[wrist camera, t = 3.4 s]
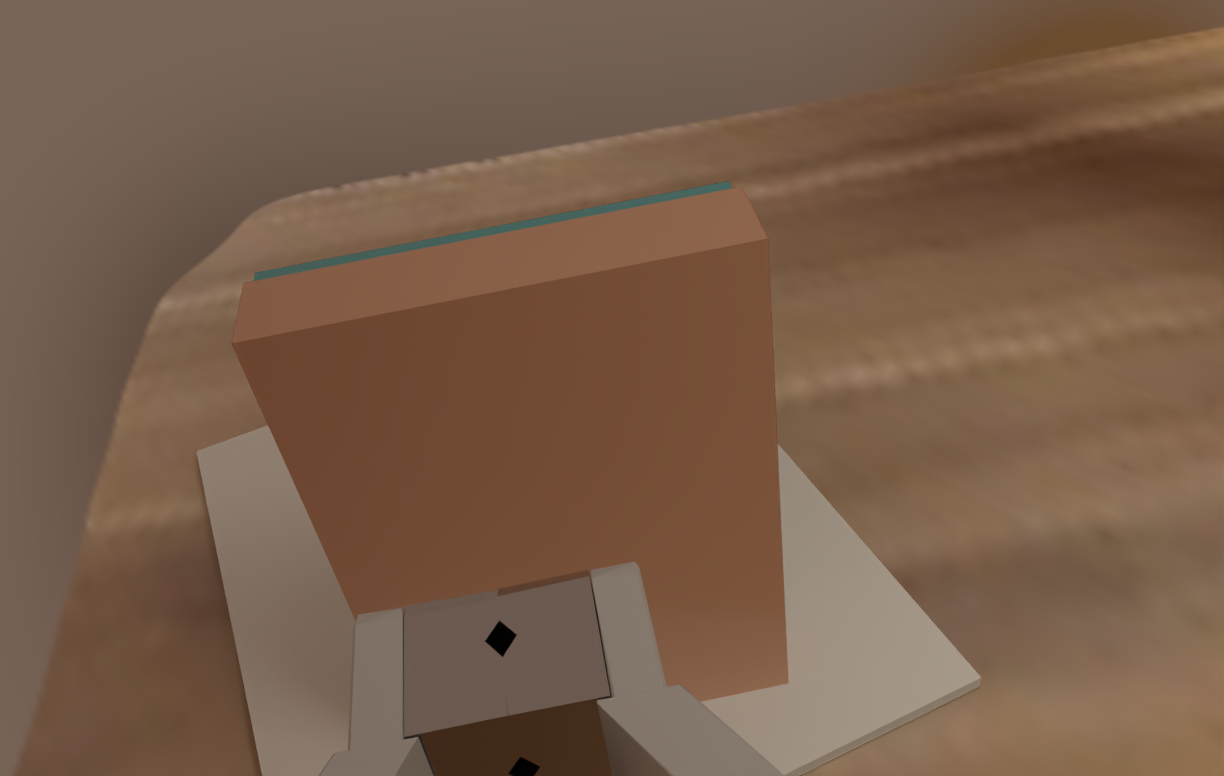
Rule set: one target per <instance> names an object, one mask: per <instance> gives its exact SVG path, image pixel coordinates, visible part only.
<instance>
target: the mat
mask: <svg viewBox="0 0 1224 776" xmlns="http://www.w3.org/2000/svg"><path fill="white" fill-rule="evenodd" d="M196 453H197V457H198V462H199V467H200V472H201V477H202V482H203V487H204V492H205V497H206V502H207V507H208V512H209V516H210V521H211V526H212V531H213V536H214V541H215V546H216V551H217V556H218V561H219V566H220V571H221V576H222V580H223V585H224V590H225V595H226V600H227V605H228V610H229V615H230V620H231V625H232V630H233V635H234V639H235V644H236V649H237V654H238V659H239V664H240V669H241V674H242V679H243V684H244V689H245V694H246V699H247V703H248V708H249V713H250V718H251V723H252V728H253V733H254V738H255V743H256V748H257V753H258V758H259V762H260V767H261V772H262V776H319V774H320V773H321V771H322V770H323V768H324V767H325V765H326V764H327V763H328V761H329V760H330V758H331V757H332V755H333V754H334V753H338V752H343V751H347V750H348V734H349V712H350V690H351V668H352V646H353V628H354V625H355V622H356V621H355V619H354V616H353V614H352V612H351V610H350V607H349V605H348V603H347V601H346V598H345V596H344V594H343V592H342V589H341V587H340V585H339V583H338V581H337V578H336V576H335V574H334V572H333V569H332V567H331V565H330V563H329V560H328V558H327V556H326V554H325V551H324V549H323V547H322V545H321V542H320V540H319V538H318V536H317V534H316V531H315V529H314V527H313V525H312V522H311V520H310V518H309V516H308V513H307V511H306V509H305V507H304V504H303V502H302V500H301V498H300V495H299V493H298V491H297V489H296V487H295V484H294V482H293V480H292V478H291V475H290V473H289V471H288V469H287V466H286V464H285V462H284V460H283V457H282V455H281V453H280V451H279V449H278V446H277V444H276V442H275V440H274V437H273V435H272V433H271V431H270V428H269V426H268V425H267V426H264V427H261V428H259V429H256V430H253V431H250V432H248V433H245V434H242V435H239V436H237V437H234V438H231V439H228V440H226V441H223V442H220V443H217V444H215V445H212V446H209V447H206V448H204V449H201V450H198V451H196ZM778 464H779V485H780V507H781V529H782V551H783V572H784V594H785V616H786V637H787V659H788V681H789V683H788V684H783V685H778V686H774V687H769V688H764V689H759V690H754V691H750V692H745V693H740V694H735V695H731V696H726V697H721V698H716V699H712V700H707V701H702V702H701V703H702V704H704V705H705V706H706V707H707V708H708V709H709V710H710V711H712V712H713V713H714V714H715V715H716V716H717V717H718V718H720V719H721V720H722V721H723V722H724V723H725V724H726V725H728V726H729V727H730V728H731V729H732V730H733V731H734V732H736V733H737V734H738V735H739V736H740V737H741V738H742V739H744V740H745V741H746V742H747V743H748V744H749V745H750V746H752V747H753V748H754V749H755V750H756V751H757V752H758V753H760V754H761V755H762V756H763V757H764V758H765V759H766V760H768V761H769V762H770V763H771V764H772V765H773V766H774V767H776V768H777V769H778V770H779V771H780V772H781V773H782V774H784V775H785V776H801V775H803V774H805V773H807V772H809V771H811V770H813V769H815V768H817V767H819V766H821V765H823V764H825V763H827V762H829V761H831V760H833V759H835V758H837V757H839V756H841V755H843V754H845V753H847V752H849V751H851V750H853V749H855V748H857V747H859V746H861V745H863V744H865V743H867V742H869V741H871V740H873V739H875V738H877V737H879V736H881V735H883V734H885V733H887V732H889V731H891V730H893V729H895V728H897V727H899V726H901V725H903V724H905V723H907V722H909V721H912V720H914V719H916V718H918V717H920V716H922V715H924V714H926V713H928V712H930V711H932V710H934V709H936V708H938V707H940V706H942V705H944V704H946V703H948V702H950V701H952V700H954V699H956V698H958V697H960V696H962V695H964V694H966V693H968V692H970V691H972V690H974V689H976V688H978V687H980V682H981V677H980V676H979V675H978V673H977V672H976V671H975V670H974V669H973V668H972V667H971V665H970V664H969V663H968V662H967V661H966V660H965V658H964V657H963V656H962V655H961V654H960V653H959V652H958V650H957V649H956V648H955V647H954V646H953V645H952V643H951V642H950V641H949V640H948V639H947V638H946V637H945V635H944V634H943V633H942V632H941V631H940V630H939V629H938V627H937V626H936V625H935V624H934V623H933V622H932V620H931V619H930V618H929V617H928V616H927V615H926V614H925V612H924V611H923V610H922V609H921V608H920V607H919V605H918V604H917V603H916V602H915V601H914V600H913V599H912V597H911V596H910V595H909V594H908V593H907V592H906V591H905V589H904V588H903V587H902V586H901V585H900V584H899V582H898V581H897V580H896V579H895V578H894V577H893V576H892V574H891V573H890V572H889V571H888V570H887V569H886V567H885V566H884V565H883V564H882V563H881V562H880V561H879V559H878V558H877V557H876V556H875V555H874V554H873V552H872V551H871V550H870V549H869V548H868V547H867V546H866V544H865V543H864V542H863V541H862V540H861V539H860V538H859V536H858V535H857V534H856V533H855V532H854V531H853V529H852V528H851V527H850V526H849V525H848V524H847V523H846V521H845V520H844V519H843V518H842V517H841V516H840V514H839V513H838V512H837V511H836V510H835V509H834V508H833V506H832V505H831V504H830V503H829V502H828V501H827V500H826V498H825V497H824V496H823V495H822V494H821V493H820V491H819V490H818V489H817V488H816V487H815V486H814V485H813V483H812V482H811V481H810V480H809V479H808V478H807V476H806V475H805V474H804V473H803V472H802V471H801V470H800V468H799V467H798V466H797V465H796V464H795V463H794V462H793V460H792V459H791V458H790V457H789V456H788V455H787V453H786V452H785V451H784V450H783V449H782V448H781V447H780V445H779V444H778Z"/></svg>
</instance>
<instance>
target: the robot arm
mask: <svg viewBox="0 0 1224 776" xmlns="http://www.w3.org/2000/svg"><path fill="white" fill-rule="evenodd" d="M590 577H591V579H590ZM591 582H592V584H591ZM592 587H593V589H592ZM593 593H594V594H593ZM594 598H595V599H594ZM595 603H596V604H595ZM319 776H785V775H784V774H782V773H781V772H780V771H779V770H778V769H777V768H776V767H774V766H773V765H772V764H771V763H770V762H769V761H768V760H766V759H765V758H764V757H763V756H762V755H761V754H760V753H758V752H757V751H756V750H755V749H754V748H753V747H752V746H750V745H749V744H748V743H747V742H746V741H745V740H744V739H742V738H741V737H740V736H739V735H738V734H737V733H736V732H734V731H733V730H732V729H731V728H730V727H729V726H728V725H726V724H725V723H724V722H723V721H722V720H721V719H720V718H718V717H717V716H716V715H715V714H714V713H713V712H712V711H710V710H709V709H708V708H707V707H706V706H705V705H704V704H702V703H701V702H700V701H699V700H698V699H697V698H696V697H694V696H693V695H692V694H691V693H690V692H689V691H688V690H686V689H685V688H684V687H683V686H682V685H681V684H679V685H673V686H666V682H665V677H664V673H663V669H662V664H661V660H660V656H659V651H658V647H657V642H656V638H655V634H654V629H653V625H652V621H651V616H650V612H649V608H648V603H647V599H646V594H645V590H644V586H643V581H642V577H641V573H640V568H639V566H638V565H637V563H636V562H635V561H634V562H629V563H624V564H619V565H614V566H609V567H604V568H599V569H593V570H590V574H589V570H586V571H581V572H576V573H571V574H566V575H562V576H557V577H552V578H547V579H542V580H537V581H533V582H528V583H523V584H518V585H513V586H509V587H504V588H499V589H498V590H496V591H490V592H484V593H478V594H472V595H466V596H460V597H454V598H448V599H442V600H437V601H431V602H425V603H419V604H413V605H407V606H404V607H399V608H393V609H387V610H382V611H376V612H370V613H365V614H359V615H358V616H357V619H356V622H355V625H354V628H353V646H352V668H351V690H350V712H349V734H348V750H347V751H343V752H338V753H334V754H333V755H332V757H331V758H330V760H329V761H328V763H327V764H326V765H325V767H324V768H323V770H322V771H321V773H320V774H319Z"/></svg>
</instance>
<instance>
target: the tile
mask: <svg viewBox="0 0 1224 776" xmlns="http://www.w3.org/2000/svg"><path fill="white" fill-rule="evenodd" d="M232 346H233V348H234V350H235V352H236V355H237V357H238V359H239V361H240V363H241V366H242V368H243V370H244V372H245V375H246V377H247V379H248V381H249V384H250V386H251V388H252V390H253V393H254V395H255V397H256V399H257V402H258V404H259V406H260V408H261V410H262V413H263V415H264V417H265V419H266V422H267V424H268V426H269V428H270V431H271V433H272V435H273V437H274V440H275V442H276V444H277V446H278V449H279V451H280V453H281V455H282V457H283V460H284V462H285V464H286V466H287V469H288V471H289V473H290V475H291V478H292V480H293V482H294V484H295V487H296V489H297V491H298V493H299V495H300V498H301V500H302V502H303V504H304V507H305V509H306V511H307V513H308V516H309V518H310V520H311V522H312V525H313V527H314V529H315V531H316V534H317V536H318V538H319V540H320V542H321V545H322V547H323V549H324V551H325V554H326V556H327V558H328V560H329V563H330V565H331V567H332V569H333V572H334V574H335V576H336V578H337V581H338V583H339V585H340V587H341V589H342V592H343V594H344V596H345V598H346V601H347V603H348V605H349V607H350V610H351V612H352V614H353V616H354V619H355V621H356V619H357V616H358V615H359V614H365V613H370V612H376V611H382V610H387V609H393V608H399V607H404V606H407V605H413V604H419V603H425V602H431V601H437V600H442V599H448V598H454V597H460V596H466V595H472V594H478V593H484V592H490V591H496V590H498V589H499V588H504V587H509V586H513V585H518V584H523V583H528V582H533V581H537V580H542V579H547V578H552V577H557V576H562V575H566V574H571V573H576V572H581V571H586V570H589V574H590V570H593V569H599V568H604V567H609V566H614V565H619V564H624V563H629V562H634V561H635V562H636V563H637V565H638V566H639V568H640V573H641V577H642V581H643V586H644V590H645V594H646V599H647V603H648V608H649V612H650V616H651V621H652V625H653V629H654V634H655V638H656V642H657V647H658V651H659V656H660V660H661V664H662V669H663V673H664V677H665V682H666V686H673V685H679V684H681V685H682V686H683V687H684V688H685V689H686V690H688V691H689V692H690V693H691V694H692V695H693V696H694V697H696V698H697V699H698V700H699V701H700V702H702V701H707V700H712V699H716V698H721V697H726V696H731V695H735V694H740V693H745V692H750V691H754V690H759V689H764V688H769V687H774V686H778V685H783V684H788V683H789V681H788V659H787V637H786V616H785V594H784V572H783V551H782V529H781V507H780V485H779V464H778V442H777V420H776V399H775V377H774V355H773V334H772V312H771V290H770V269H769V247H768V237H767V235H766V233H765V231H764V229H763V227H762V225H761V223H760V221H759V219H758V217H757V215H756V213H755V211H754V209H753V207H752V205H751V203H750V201H749V199H748V197H747V195H746V193H745V191H744V189H743V187H737V188H732V187H731V185H730V183H729V181H727V182H722V183H717V184H711V185H706V186H701V187H696V188H691V189H686V190H680V191H675V192H670V193H665V194H660V195H655V196H649V197H644V198H639V199H634V200H629V201H624V202H618V203H613V204H608V205H603V206H598V207H593V208H587V209H582V210H577V211H572V212H567V213H562V214H556V215H551V216H546V217H541V218H536V219H531V220H525V221H520V222H515V223H510V224H505V225H500V226H494V227H489V228H484V229H479V230H474V231H469V232H464V233H458V234H453V235H448V236H443V237H438V238H433V239H427V240H422V241H417V242H412V243H407V244H402V245H396V246H391V247H386V248H381V249H376V250H371V251H365V252H360V253H355V254H350V255H345V256H340V257H334V258H329V259H324V260H319V261H314V262H309V263H303V264H298V265H293V266H288V267H283V268H278V269H272V270H267V271H262V272H257V273H255V276H254V281H252V282H246V283H243V288H242V293H241V298H240V303H239V308H238V313H237V318H236V323H235V328H234V333H233V338H232ZM590 579H591V577H590ZM591 584H592V582H591ZM592 589H593V587H592ZM593 594H594V593H593ZM594 599H595V598H594ZM595 604H596V603H595Z"/></svg>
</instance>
